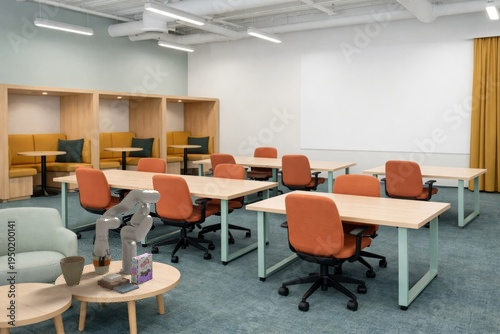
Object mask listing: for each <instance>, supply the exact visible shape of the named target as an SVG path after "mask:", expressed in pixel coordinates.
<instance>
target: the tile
mask: <svg viewBox="0 0 500 334" xmlns="http://www.w3.org/2000/svg"><path fill="white" fill-rule="evenodd" d="M102 277H103V278H102V279H103V280H105V281H108V282H110V283H112V282H115V281H119V280H122V277H123V275H122V274H118V273H115V272H113V273H109V274H106V275H103V276H102Z"/></svg>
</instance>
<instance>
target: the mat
mask: <svg viewBox="0 0 500 334" xmlns="http://www.w3.org/2000/svg"><path fill="white" fill-rule="evenodd" d="M137 289H140V286H139V285H137V284H134V283H131V282H130V283H127V284H124V285H121V286H118V287H115V288H113V290H112V291H115V292H117V293H121V294H123V295H124V294H127V293H130V292H132V291H134V290H137Z"/></svg>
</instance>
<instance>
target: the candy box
mask: <svg viewBox="0 0 500 334" xmlns="http://www.w3.org/2000/svg"><path fill="white" fill-rule="evenodd" d="M149 279H150V280H151V279H153V254H152V253H147V252H145V253H143V254H140V255H137V256H136V257H133V258H131V274H130V284H134V285H140V284H142V283H144V282H147V281H150V280H149Z"/></svg>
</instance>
